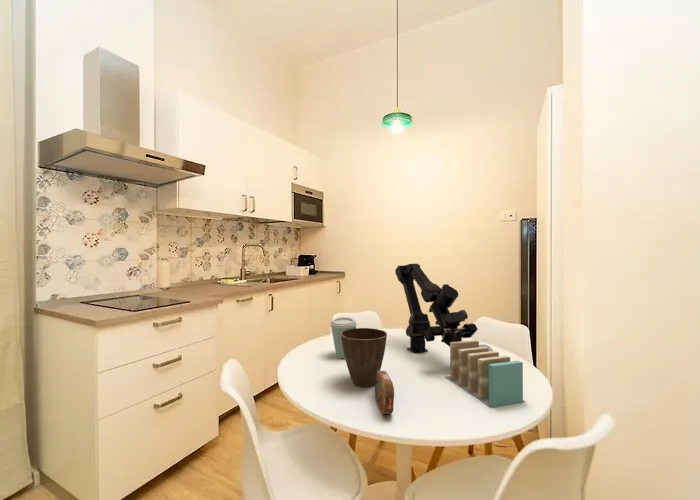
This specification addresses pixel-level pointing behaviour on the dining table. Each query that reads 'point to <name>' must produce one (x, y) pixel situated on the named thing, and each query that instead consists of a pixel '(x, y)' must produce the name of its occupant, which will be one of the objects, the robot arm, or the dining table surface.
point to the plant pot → (363, 354)
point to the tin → (384, 392)
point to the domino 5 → (505, 383)
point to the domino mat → (474, 393)
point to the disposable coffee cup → (338, 327)
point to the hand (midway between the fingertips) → (461, 354)
